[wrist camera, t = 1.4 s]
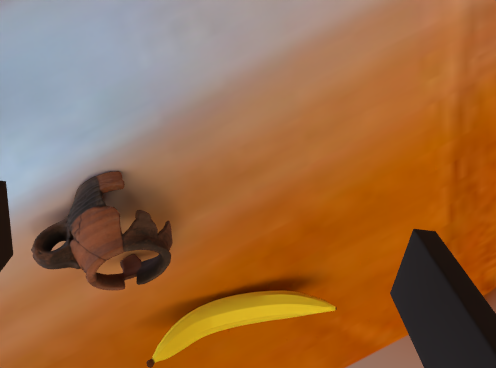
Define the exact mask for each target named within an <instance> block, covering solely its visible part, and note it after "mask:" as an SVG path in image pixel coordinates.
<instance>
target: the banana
mask: <svg viewBox="0 0 496 368" xmlns="http://www.w3.org/2000/svg"><path fill="white" fill-rule="evenodd" d="M336 309H337V308H336V307H335V306H334V305H331V304H330V303H328V302H327V301H325V300H322V299H319V298H317V297H314V296H311V295H307V294H304V293H300V292H294V291H285V290H280V291H262V292H252V293H245V294H239V295H234V296H230V297H225V298H222V299H218V300H215V301H212V302H210V303H207V304H205V305H202V306H200V307H198V308H197V309H195V310H193V311H191V312H190V313H188V314H187V315H185V316H184V317H183V318H181V319H180V320H179V321H178V322H177V323H176V324H175V325H174V326H173V327H172V328H171V329H170V330H169V331H168V333H167V334H166V335H165V336H164V337H163V339H162V341H161V342H160V344H159V345H158V347H157V349H156V351H155V353H154V355H153V358H152V359H150V360H148V361H147V366H148V367H150V368H151V367H153V365H154V363H155V362H158V361H161V360H165V359H167V358H169V357H171V356H173V355H175V354H177V353H178V352H180V351H181V350H183V349H184V348H186V347H187V346H189V345H190V344H192V343H193V342H195V341H197V340H198V339H200V338H202V337H204V336H206V335H209V334H212V333H215V332H218V331H221V330H225V329H229V328H233V327H237V326H242V325H246V324H252V323H258V322H264V321H271V320H277V319H284V318H291V317H298V316H304V315H310V314H316V313H322V312H329V311H334V310H336Z"/></svg>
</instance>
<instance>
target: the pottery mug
mask: <svg viewBox="0 0 496 368" xmlns="http://www.w3.org/2000/svg"><path fill="white" fill-rule="evenodd" d="M123 188H124V181H123V180H122V174H121V172H118V171H117V172H108V173H104V174H101V175H98V176H95V177H93V178H91V179H89V180H88V181H86V182H85V183H84V184H83V185H81V186H80V187H79V189H78V190H77V192H76V195H75V198H74V202H73V204H72V207H71V209H70V212H69V214H68V216H67V217H66V218H65V219H64V220H62V221H60V222H58V223H56V224H54V225H52V226H50V227H48V228H47V229H45V230H44V231H42V232H41V233H40V234H39V235H38V236H37V238H36V239H35V241H34V244H33V247H32V249H31V251H32V252H33V258H34V260H35V261H36V262H37V263H38V264H39V265H40V266H42V267H44V268H46V269H61V268H68V267H71V268H76V269H80V268H81V269H82V270H84V272H85V273H86V279H87V281H88V282H89V283H90V284H91V285H92V286H94V287H96V288H99V289H103V290H122V289H125V283H124V280H127V279H131V278H134V277H137V284H138V285H140V284H145V283H147V282H150V281H151V280H153V279H155V278H156V277H158V276H159V275H160V274H162V273H163V272H164V271H165V269H166V268H167V266H168V265H169V263H170V260H171V254H170V252H169V250H170V248H171V246H172V233H171V225H170V221H167V222H166V224H165V226H164V228H163V229H162V230H161V231H160V232H159V233H158V229H157V227H156V224H155V223H154V222H153V221H152V219H151V216H150V214H149V213H147V212H145V211H142V210H137V211H136V220H135V221H134V222H133V223H132V225H131V226H130V228H129V229H128V230H127V231H126V232H125V233H124V234H122V232H121V227H120V214H119V212H118V211H117V210H116V209H115V208H114V207H109V206H108V207H106V204H105V202H104V200H103V198H102V195H103V193H106V192H109V191H113V190H119V189H123ZM61 241H66V242H65V243H64V245H63V246H61V247H60V248H58V249H56V250H54V251H51V250H52V248H53V247H54V246H55V245H56V244H57V243H59V242H61ZM133 250H152V251H155V252H158V253H159V255H158V256H157V257H155V258H152V259H148V260H146V261H143V262H141V260H140V259H139V258H138V257H137V256H136V255H135V254H133V255H130V256H128V257H126V258H124V259H123V260H122V261H121V262H120V265H121V267H122V269H123V273H121V274H111V275H106V274H100V273H96V271H97V270H98V268H99V267H100V266H101V265H102V264H103V263H104V262H105V261H106V260H108V259H110V258H112V257H114V256H116V255H118V254H121V253H123V252H126V251H133Z"/></svg>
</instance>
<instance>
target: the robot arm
mask: <svg viewBox="0 0 496 368" xmlns="http://www.w3.org/2000/svg"><path fill="white" fill-rule="evenodd" d="M12 256H13V247H12V237H11V227H10V218H9V208H8V198H7V188H6V181H0V271H1V270H2V269H3V267H4V266H5V265H6V263H7V262H8V261H9V259H10V258H11V257H12ZM390 294H391V296H392V299H393V301H394V303H395V305H396V307H397V310H398V312H399V314H400V316H401V318H402V320H403V323H404V325H405V327H406V329H407V331H408V333H409V336H410V338H411V340H412V342H413V344H414V347H415V349H416V351H417V353H418V355H419V357H420V360H421V362H422V364H423V366H424V368H496V313H495V312H494V311H493V309H492V308H491V307H490V305H489V304H488V303H487V301H486V300H485V299H484V297H483V296H482V294H481V293H480V292H479V290H478V289H477V287H476V286H475V285H474V283H473V282H472V281H471V279H470V278H469V277H468V275H467V274H466V272H465V271H464V270H463V268H462V267H461V266H460V264H459V263H458V262H457V260H456V259H455V257H454V256H453V255H452V253H451V252H450V251H449V249H448V248H447V246H446V245H445V244H444V242H443V241H442V240H441V238H440V237H439V236H438V234H437V233H436V231H427V230H419V229H413V232H412V235H411V237H410V240H409V243H408V246H407V248H406V251H405V254H404V257H403V259H402V262H401V265H400V268H399V270H398V273H397V276H396V279H395V281H394V284H393V287H392V290H391V292H390Z"/></svg>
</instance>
